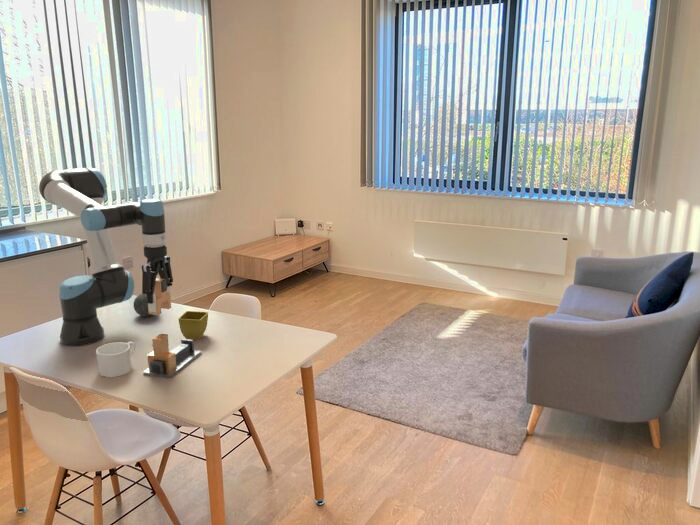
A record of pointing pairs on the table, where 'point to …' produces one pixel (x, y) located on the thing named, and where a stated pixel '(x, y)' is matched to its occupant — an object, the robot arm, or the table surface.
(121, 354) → the mug
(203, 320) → the flower pot
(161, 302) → the tan wooden arch block
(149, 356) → the rail base
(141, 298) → the decorative ball
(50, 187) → the robot arm
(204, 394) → the table surface
